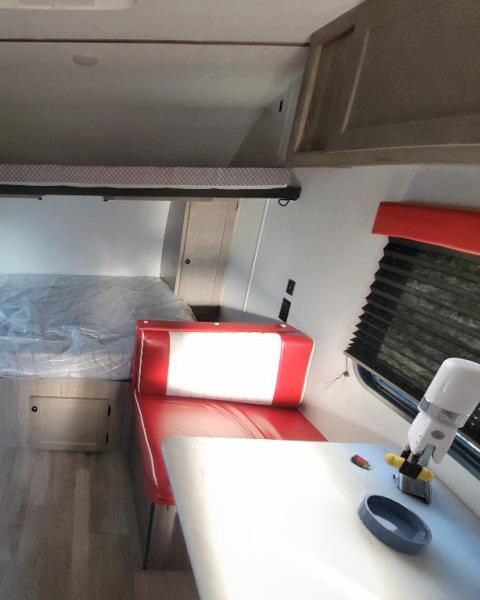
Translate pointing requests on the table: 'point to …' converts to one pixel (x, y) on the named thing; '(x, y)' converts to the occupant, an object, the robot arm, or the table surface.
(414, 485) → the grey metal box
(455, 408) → the robot arm
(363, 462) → the matchbox
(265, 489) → the table surface
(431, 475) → the yellow rounded cylinder
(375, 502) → the bowl
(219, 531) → the table surface
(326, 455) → the table surface
